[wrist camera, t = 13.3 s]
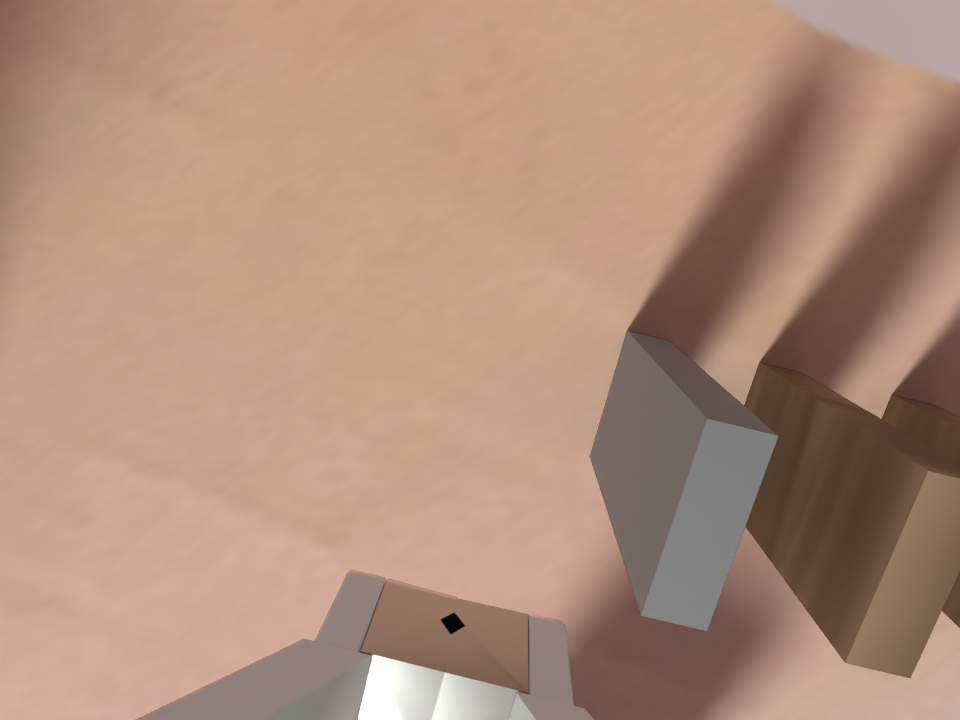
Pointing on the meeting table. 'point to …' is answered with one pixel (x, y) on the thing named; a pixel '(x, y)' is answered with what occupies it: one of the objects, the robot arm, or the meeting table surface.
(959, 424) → the domino
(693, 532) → the gray domino
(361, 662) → the robot arm
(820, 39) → the meeting table surface
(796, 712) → the meeting table surface
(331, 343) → the meeting table surface
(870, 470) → the domino
